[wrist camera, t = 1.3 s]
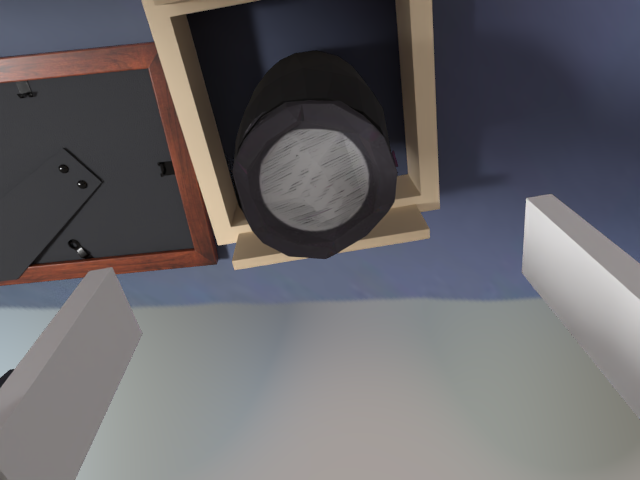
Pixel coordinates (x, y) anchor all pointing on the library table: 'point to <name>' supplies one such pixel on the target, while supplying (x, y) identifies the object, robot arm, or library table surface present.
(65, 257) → the picture frame
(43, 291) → the library table surface
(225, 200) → the carton
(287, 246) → the portable speaker
